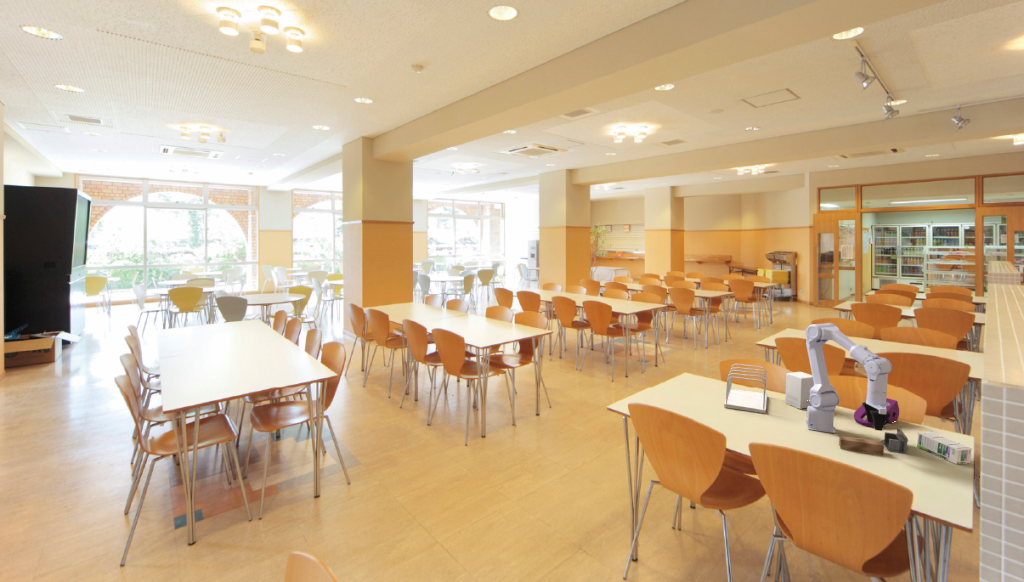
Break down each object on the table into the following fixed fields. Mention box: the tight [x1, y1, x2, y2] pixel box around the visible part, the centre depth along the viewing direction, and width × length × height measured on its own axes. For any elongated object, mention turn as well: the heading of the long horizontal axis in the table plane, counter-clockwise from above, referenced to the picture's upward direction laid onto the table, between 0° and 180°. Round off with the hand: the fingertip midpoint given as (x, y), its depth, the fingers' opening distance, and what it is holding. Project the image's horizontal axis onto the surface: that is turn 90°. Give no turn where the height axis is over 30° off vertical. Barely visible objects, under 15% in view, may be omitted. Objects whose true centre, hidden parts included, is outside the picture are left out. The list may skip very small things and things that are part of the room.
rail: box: [838, 435, 885, 456], centre depth 176 cm, size 13×3×4 cm, turn 64°
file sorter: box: [723, 363, 768, 414], centre depth 226 cm, size 25×17×16 cm
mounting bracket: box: [853, 397, 900, 428], centre depth 201 cm, size 9×8×18 cm
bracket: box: [880, 427, 909, 455], centre depth 177 cm, size 5×10×6 cm, turn 153°
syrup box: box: [916, 431, 973, 465], centre depth 170 cm, size 6×6×14 cm
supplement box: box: [784, 371, 814, 410], centre depth 220 cm, size 9×9×15 cm
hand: (874, 426), depth 174 cm, fingers open, 7 cm apart
